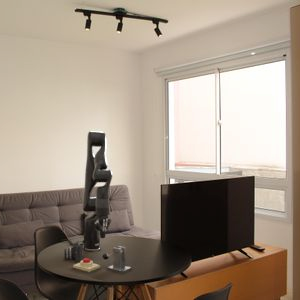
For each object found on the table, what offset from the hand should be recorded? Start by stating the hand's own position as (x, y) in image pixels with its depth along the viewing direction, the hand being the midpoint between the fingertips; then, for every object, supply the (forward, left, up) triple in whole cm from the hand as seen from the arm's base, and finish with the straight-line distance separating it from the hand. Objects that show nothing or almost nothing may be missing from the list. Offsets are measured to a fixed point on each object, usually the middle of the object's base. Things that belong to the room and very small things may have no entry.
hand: (102, 237), depth 209 cm
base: (+11, 0, -15) cm, 19 cm away
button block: (-3, -10, -15) cm, 19 cm away
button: (-3, -10, -12) cm, 16 cm away
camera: (-20, -1, -16) cm, 26 cm away
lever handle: (+7, 0, -9) cm, 11 cm away
